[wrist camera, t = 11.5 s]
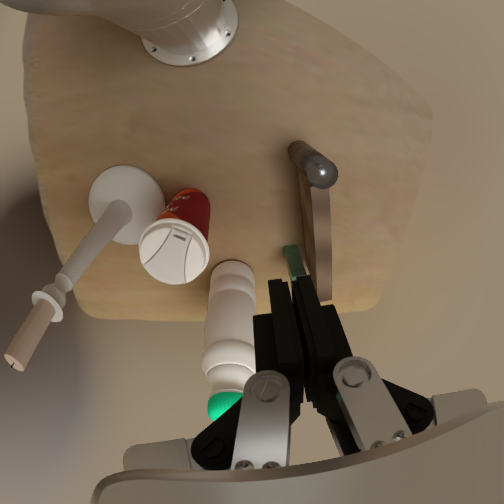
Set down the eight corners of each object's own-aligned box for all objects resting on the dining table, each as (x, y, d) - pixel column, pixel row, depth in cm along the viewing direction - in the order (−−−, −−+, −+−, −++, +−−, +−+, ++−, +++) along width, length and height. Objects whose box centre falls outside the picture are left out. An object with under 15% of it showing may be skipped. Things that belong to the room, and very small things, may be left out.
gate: (295, 166, 36) (310, 187, 28) (309, 164, 36) (328, 184, 28) (304, 265, 44) (317, 302, 37) (317, 263, 44) (331, 299, 36)
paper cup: (177, 172, 37) (147, 211, 25) (226, 194, 39) (220, 243, 27) (158, 218, 40) (127, 272, 28) (204, 238, 42) (191, 299, 30)
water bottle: (260, 265, 45) (276, 409, 24) (245, 297, 49) (250, 433, 27) (218, 253, 44) (204, 398, 22) (206, 287, 47) (190, 425, 26)
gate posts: (288, 140, 35) (309, 158, 25) (310, 141, 35) (339, 160, 25) (282, 257, 45) (294, 308, 34) (300, 256, 45) (317, 307, 34)
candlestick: (85, 227, 40) (-20, 370, 15) (99, 154, 34) (-63, 272, 9) (153, 253, 43) (87, 429, 18) (177, 181, 38) (76, 359, 12)
